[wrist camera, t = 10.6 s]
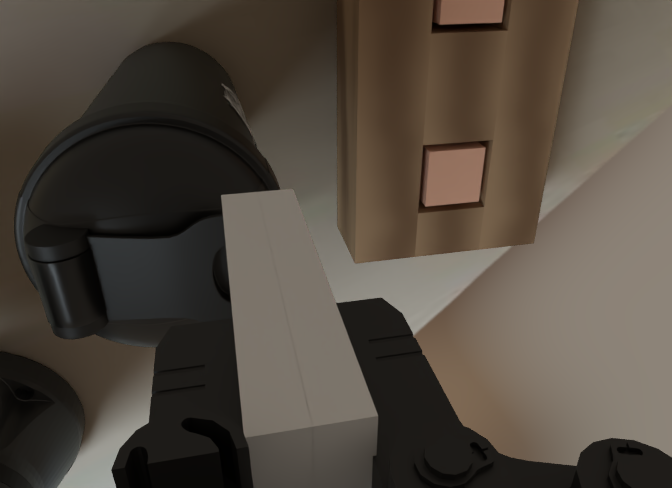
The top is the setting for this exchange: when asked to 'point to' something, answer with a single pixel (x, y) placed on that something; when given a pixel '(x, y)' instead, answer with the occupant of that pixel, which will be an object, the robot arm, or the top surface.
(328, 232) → the top surface
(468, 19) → the peg
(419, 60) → the socket block
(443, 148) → the peg
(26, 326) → the top surface
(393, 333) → the robot arm
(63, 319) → the water bottle
